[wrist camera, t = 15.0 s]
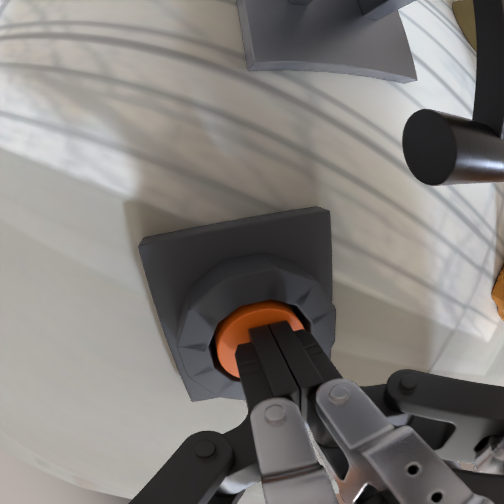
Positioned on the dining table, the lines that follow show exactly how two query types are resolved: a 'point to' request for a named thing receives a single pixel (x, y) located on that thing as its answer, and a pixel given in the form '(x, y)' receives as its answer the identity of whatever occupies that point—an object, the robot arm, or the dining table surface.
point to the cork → (466, 19)
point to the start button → (248, 327)
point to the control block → (238, 285)
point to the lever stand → (327, 37)
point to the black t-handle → (462, 129)
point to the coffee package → (499, 294)
